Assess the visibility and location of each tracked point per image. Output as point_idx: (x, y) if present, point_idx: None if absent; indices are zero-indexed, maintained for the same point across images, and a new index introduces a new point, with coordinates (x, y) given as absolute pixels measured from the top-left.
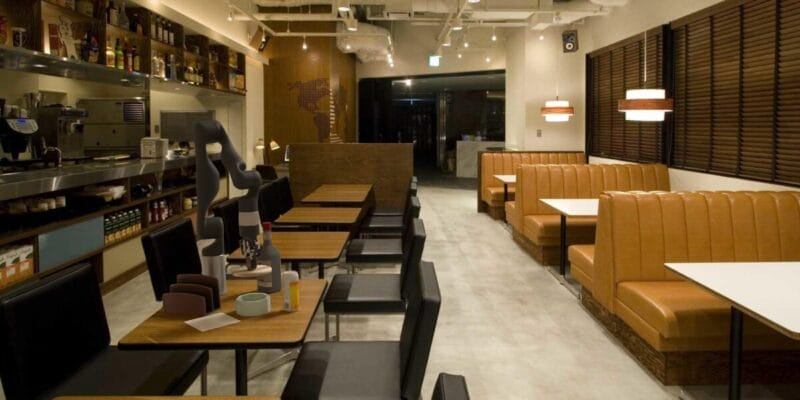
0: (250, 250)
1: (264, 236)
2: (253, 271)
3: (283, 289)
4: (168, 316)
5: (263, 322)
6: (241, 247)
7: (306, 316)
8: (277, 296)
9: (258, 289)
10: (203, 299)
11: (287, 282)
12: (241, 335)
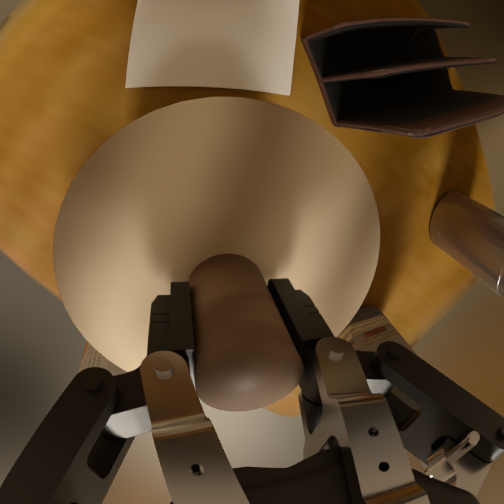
0: (163, 470)
1: None
2: (144, 267)
3: None
4: (396, 6)
5: (71, 154)
6: (448, 403)
7: (47, 285)
8: None
9: (372, 308)
10: (340, 23)
11: (89, 351)
12: (25, 47)
